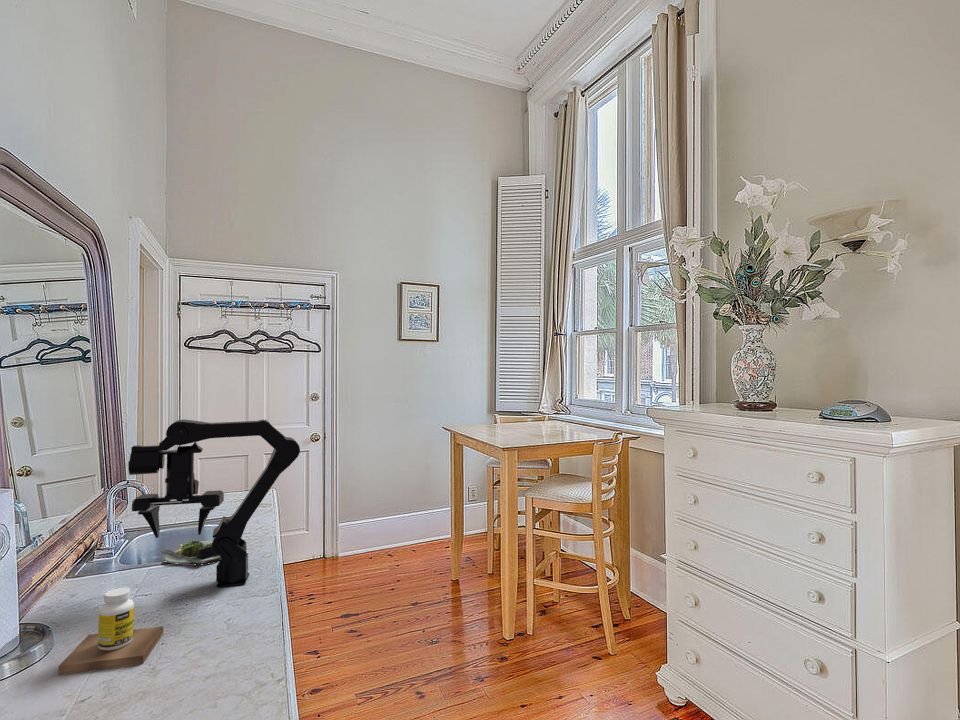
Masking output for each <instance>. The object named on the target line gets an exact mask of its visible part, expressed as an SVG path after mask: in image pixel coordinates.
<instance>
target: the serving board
mask: <svg viewBox="0 0 960 720" xmlns="http://www.w3.org/2000/svg"><path fill="white" fill-rule="evenodd" d="M163 635H164V625H163V626H162V625H161V626H153V627H146V628H144V627H143V628H135V629H133V639H132V641H131V642H130V643H129V644H128V645H126V646H124V647H122V648H119V649H115V650H109V651H104V650H100V649H99V648H98V633H93V634H88V635H87V636H85V638H84V639H83V640H81V642H80V643H79V644H78V645H77V646H76V647H75V648H74V649H73V650H72V651H71V652H70V653H69V655H68V656H67V657H66V658H65V659H64V660H63V661H62V662H61V663H60V664H58V674H60V675H66V674H67V675H68V674H74V673H75V674H76V673H81V672H82V673H83V672H90V671H91V672H92V671H98V670H106V669H113V668H119V667H122V668H123V667H127V666H128V667H129V666H135V665H144V663H145V661H146V660H147V659H148V657H149V656H150V655H151V653H152V651H153V649H154V648H155V647H156V646H157V644H158V642H159V641H160V639H161V638H162V636H163Z"/></svg>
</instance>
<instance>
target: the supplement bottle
mask: <svg viewBox="0 0 960 720" xmlns="http://www.w3.org/2000/svg"><path fill="white" fill-rule="evenodd" d="M103 595H104V598H103V602H104V604H102V605H101V607H100V608H99V609H98V610H99V611H98V612H99V613H98V631H97V632H98V633H97V634H98V648H99V649H100V650H104V651H109V650H115V649H119V648H122V647H124V646H126V645H128V644H129V643H130V642H131V641H132V639H133V630H134V616H135V615H134V614H135V611H134V610H135V602H134V600H132V599H131V598H130V597H131V589H130V588H129V587H118V588H117V587H116V588H114V589H111V590H108V591H106V592H105V593H104V594H103Z"/></svg>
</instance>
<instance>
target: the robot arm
mask: <svg viewBox="0 0 960 720" xmlns="http://www.w3.org/2000/svg"><path fill="white" fill-rule="evenodd" d="M256 436H258V437H261V438H262V439H263V440H264V441H266V442H267V443H268V444H269V445H270V447H272V448H273V450H272V452H271V454H270V457H269V460H268V462H267V464H266V467H265V468H264V469H263V470H262V473H260V475H259V477H258V478H257V480H256V481H255V483H254V484H253V486H252V487H251V488H250V490H249V491H248V493H247V494H246V496H245V497H244V499H243V500H242V501H241V503H240V505H239V506H238V507H237V508H236V510H235V511H234V513H233V514H231V516H229V517H228V518H227V517H226V516H225V515H223V516H222V518H221V520H220V522H219V524H218V525H217V526H216V527H214V528H213V532H212V538H213V539H212V541H211V542H212V549H213V551H214V552H215V553H216V554H217V555H220V559H219V562H217V565H216V570H215V571H216V574H215V575H216V576H215V579H216V580H215V582H216V583H217V584H216V587H217V588H221V587H230V586H231V587H232V586H242V585H246V584H247V581H248V578H249V576H250V572H249V552H248V551H247V547H248V546H247V542H246V540H244V539H243V538H242V536H243V534H244V531H245V529H246V527H247V524H248V522H249V520H250V519H251V518H252V516H253V515H254V514H255V512H256V511H257V509H258V507H259V506H260V504H261V503H262V502H263V500H264V498H265V497H266V496H267V494H268V492H269V491H270V490H271V488H272V486H273V485H274V484H275V482H276V481H277V479H278V478H279V476H280V475H281V474H282V473H284V471H285V470H287V468H289V467H290V466H291V465H292V464H293V463H294V461H296V459H297V458H298V457H299V455H300V453H301V447H300V445H299V444H298V442H297V441H296V440H295V439H294V438H293V437H288V436H285V435H284V434H282V433H281V432H280V431H279V430H277V428H276V427H274V426H273V425H271V423H270V421H268V420H267V419H258V420H247V421H244V420H243V421H225V422H224V421H223V422H206V421H200V420H193V419H178V420H176V421H174V422H172V423H171V424H170V425H169V426H168V427H167V429H166V432H165V438H164V439H163V440H161V441H160V442H159V443H158V444H157V445H139V444H138V445H133V446H132V447H131V449H130V450H131V451H130V455H129V460H128V469H127V470H128V474H129V476H135V475H136V476H137V475H149V474H150V475H151V474H152V475H153V474H159V472H160V470H161V469H164V468H165V460H166V473H165V474H166V478H165V479H164V484H165V485H166V486H165V495H164V496H160V497H159V494H158V493H145V494H141V495H139V496H137V497H136V498H134V499H133V500H132V503H131V512H137V514H138V515H142V517H143V518H144V519H145V521H146V522H147V523H148V525H149V527H150V529H151V531H152V532H153V535H154V537H155V539H158V538H159V537H160V516H159V513H160V507H161V506H170V505H174V506H175V505H188V504H201V507H200V508H199V513H198V525H197V526H198V528H197V533H198V536H201V534H202V532H203V530H204V527H205V524H206V521H207V518H208V516H209V514H210V512H212V511H213V510H214V509H216V508H217V507H219V506H221V505H222V504H223V502H224V500H225V494H224V491H222V490H207V491H205V492H204V493H203V494H200V495H199V494H198V493H199V487H200V486H199V485H200V484H199V483H200V482H199V480H197V479H196V478H195V473H194V468H195V467H194V466H195V465H194V463H195V462H194V460H195V459H194V458H195V455H194V454H199V453H200V454H201V453H202V452H203V447H201V446H200V445H199V444H198V442H201V441H205V440H209V439H222V438H223V439H225V438H237V437H239V438H240V437H241V438H242V437H256ZM192 443H193V444H192ZM189 444H191V445H189ZM175 446H177V448H176V449H173V450H170V449H171V448H173V447H175ZM165 455H166V459H165Z"/></svg>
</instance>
